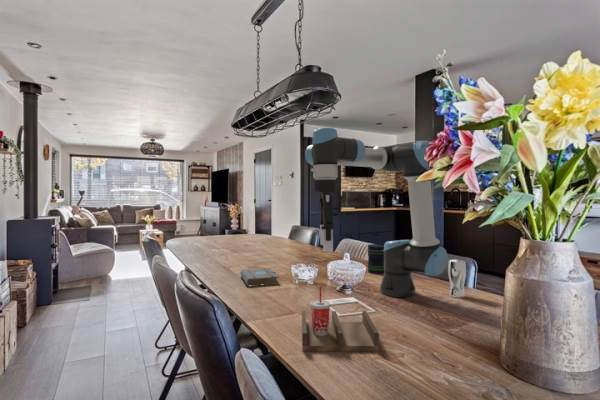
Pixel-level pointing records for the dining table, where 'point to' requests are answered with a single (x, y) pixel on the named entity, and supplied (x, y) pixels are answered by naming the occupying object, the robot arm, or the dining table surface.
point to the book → (259, 276)
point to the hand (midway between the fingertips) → (326, 248)
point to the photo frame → (345, 301)
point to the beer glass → (457, 277)
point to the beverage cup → (320, 316)
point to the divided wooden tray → (341, 335)
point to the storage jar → (376, 259)
